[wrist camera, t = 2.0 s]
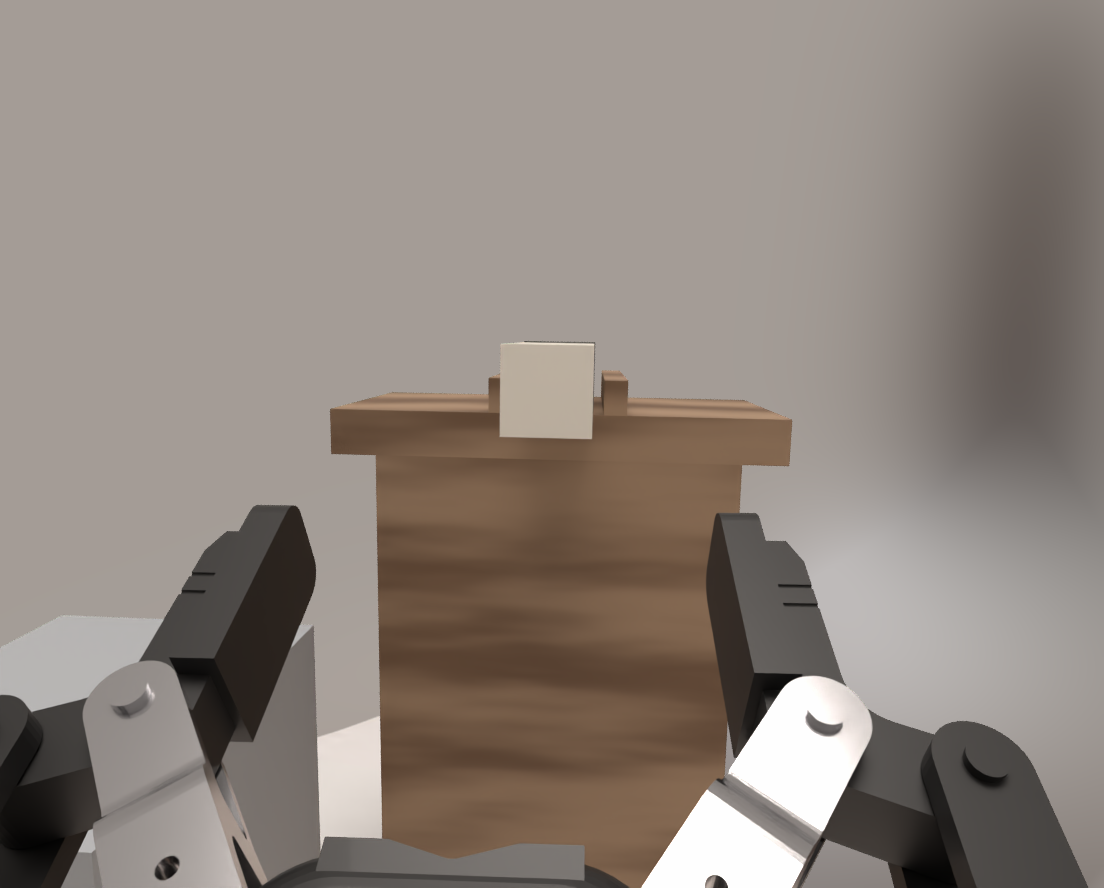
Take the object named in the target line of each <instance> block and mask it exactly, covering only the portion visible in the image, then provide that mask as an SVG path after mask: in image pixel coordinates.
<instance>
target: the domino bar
mask: <svg viewBox="0 0 1104 888" xmlns="http://www.w3.org/2000/svg"><path fill="white" fill-rule="evenodd" d="M594 364H595V342H541V341H540V342H539V341H525V342H524V343H506V344H500V437H525V438H564V439H592V420H593V405H594V366H595V365H594Z"/></svg>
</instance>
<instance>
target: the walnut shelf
mask: <svg viewBox="0 0 1104 888" xmlns="http://www.w3.org/2000/svg"><path fill="white" fill-rule="evenodd" d="M330 421H331V454H354V455H376V495H377V547H378V548H377V550H378V552H377V554H378V605H379V606H378V607H379V608H378V611H379V669H380V729H381V787H382V839H390V840H393V841H396V842H399V843H402V844H405V845H408V846H411V847H414V848H417V849H420V850H423V851H426V852H429V853H432V854H435V855H438V856H441V857H444V858H448V859H455V858H461V857H465V856H469V855H473V854H477V853H482V852H486V851H490V850H494V849H498V848H502V847H507V846H511V845H515V844H519V843H528V844H558V845H585V861H584V864H585V865H588V866H591V867H594V868H597V869H599V870H601V871H603V872H605V873H607V874H609V875H611V876H613V877H615V878H616V879H618V880H619V881H621V882H623V883H624V884H626V885H627V886H628V887H630V888H642V886H643V885H644V883H645V882H646V880H647V879H648V877H649V876H650V874H651V873H652V871H653V870H654V868H655V867H656V865H657V864H658V862H659V861H660V859H661V858H662V856H663V855H664V853H665V852H666V850H667V849H668V847H669V846H670V844H671V843H672V841H673V840H674V838H675V837H676V835H677V834H678V832H679V831H680V829H681V828H682V826H683V825H684V823H685V822H686V820H687V819H688V817H689V816H690V814H691V813H692V811H693V810H694V808H695V807H696V805H697V804H698V802H699V801H700V799H701V798H702V796H703V795H704V793H705V792H706V791H707V789H708V788H709V787H710V785H711V784H712V783H713V782H714V781H715V780H716V779H718V778H720V779H723V778H724V775H725V758H726V740H727V722H728V720H727V714H726V708H725V702H724V697H723V691H722V685H721V679H720V673H719V667H718V662H717V656H716V650H715V644H714V638H713V632H712V627H711V621H710V615H709V609H708V603H707V595H706V571H707V564H708V557H709V551H710V544H711V538H712V532H713V525H714V519H715V516H716V514H717V513H739V510H740V509H739V508H740V491H741V474H742V465H763V466H765V465H766V466H789V462H790V446H791V431H792V420H791V419H789V418H786V417H784V416H781V415H779V414H776V413H774V412H772V411H769V410H766V409H764V408H762V407H759V406H757V405H754V404H752V403H749V402H747V401H744V400H711V399H710V400H709V399H666V398H665V399H664V398H628V380H627V379H626V378H625V377H624V375H623V374H622V373H621V372H620V371H602V382H601V397H594V405H593V420H592V439H564V438H525V437H500V374H498V375H496V376H493V377H490V378H489V395H487V394H486V395H485V394H442V393H396V392H395V393H394V392H392V393H388V394H385V395H381V396H377V397H373V398H369V399H366V400H362V401H358V402H354V403H351V404H347V405H343V406H339V407H336V408H332V409H330Z"/></svg>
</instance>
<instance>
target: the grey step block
mask: <svg viewBox="0 0 1104 888" xmlns="http://www.w3.org/2000/svg"><path fill="white" fill-rule="evenodd" d="M163 620H164V619H146V618H145V619H144V618H120V617H95V616H70V615H62V616H60V617H58V618H56V619H54V620H52V621H50V622H48V623H46V624H44V625H43V626H40V627H39V628H37V629H35V630H33V631H31V632H29V633H27V634H25V635H23V636H22V637H19V638H17V639H16V640H14V641H12V642H10V643H8V644H6V645H4V646H2V647H0V695H12V696H16V697H18V698H20V699H21V700H22V701H23V702H24V703H25V704H26V705H27V707H28V708H29V709H30V711H31V712H33V711H37V710H41V709H45V708H49V707H53V706H57V705H61V704H65V703H69V702H73V701H77V700H81V699H84V698H87V697H89V695H90V693H91V692H92V691H93V690H94V688H95V687H96V686H97V685H98V684H99V683H100V682H101V681H102V680H104V679H105V678H106V677H107V676H109V675H110V674H112V673H113V672H115V671H117V670H119V669H121V668H122V667H125V666H127V665H130V664H133V663H137V662H139V660H140V659H141V657H142V655H143V654H144V652H145V650H146V649H147V647H148V645H149V644H150V642H151V640H152V639H153V637H154V635H155V633H156V632H157V630H158V628H159V627H160V625H161V623H162V622H163ZM315 694H316V693H315V659H314V626H313V625H300V626H299V629H298V631H297V634H296V636H295V638H294V641H293V643H292V646H291V648H290V651H289V653H288V656H287V658H286V661H285V663H284V666H283V668H282V671H281V673H280V676H279V678H278V681H277V683H276V686H275V688H274V691H273V693H272V696H271V698H270V701H269V703H268V706H267V708H266V711H265V713H264V716H263V718H262V721H261V723H260V726H259V728H258V731H257V733H256V736H255V738H254V741H253V742H229V745H228V747H227V749H226V752H225V754H224V756H223V759H222V762H223V764H224V766H225V769H226V771H227V774H228V777H229V780H230V783H231V786H232V788H233V791H234V794H235V797H236V800H237V802H238V805H239V808H240V811H241V814H242V817H243V819H244V822H245V825H246V828H247V831H248V834H249V836H250V839H251V842H252V845H253V848H254V850H255V853H256V855H257V858H258V860H259V862H260V865H261V867H262V869H263V871H264V873H265V876H266V878H267V881H269V880H271V879H272V878H274V877H275V876H277V875H279V874H280V873H282V872H284V871H286V870H288V869H290V868H292V867H294V866H296V865H298V864H301V863H304V862H306V861H309V860H312V859H315V858H319V856H320V822H319V789H318V757H317V724H316V695H315ZM61 888H103V887H102V881H101V876H100V870H99V865H98V860H97V854H96V849H95V843H94V837H93V829H91V830H88V832H87V834H86V837H85V839H84V841H83V843H82V845H81V847H80V849H79V851H78V853H77V855H76V857H75V859H74V862H73V864H72V866H71V868H70V870H69V872H68V874H67V876H66V878H65V880H64V882H63V884H62V886H61Z"/></svg>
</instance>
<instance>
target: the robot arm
mask: <svg viewBox="0 0 1104 888" xmlns="http://www.w3.org/2000/svg"><path fill="white" fill-rule="evenodd" d="M315 580H316V565H315V560H314V556H313V553H312V549H311V546H310V543H309V539H308V536H307V533H306V529H305V526H304V523H303V519H302V516H301V513H300V511H299V509H298V507H296V506H287V505H284V506H283V505H282V506H281V505H256V506H254V507H253V508H252V510H251V511H250V512H249V514H248V516H247V518H246V519H245V521H244V523H243V525H242V527H241V528H240V530H239V532H238V531H237V532H236V531H234V532H233V531H227V532H226V533H224V534H223V535H222V536H221V537H220V538H219V539H217V540H216V541H215V542H214V543H213V544H212V545H211V546H210V547H208V548H207V549H206V550H205V551H204V553H203V554H202V556H201V558H200V559H199V561H198V563H197V565H196V566H195V568H194V570H193V571H192V576H190V577H189V578H188V580H187V581H186V583H185V585H184V587H183V588H182V593H181V594H179V595H178V596H177V598H176V600H175V602H174V603H173V605H172V607H171V608H170V610H169V612H168V613H167V615H166V617H165V618H164V620H163V622H162V623H161V625H160V627H159V628H158V630H157V632H156V633H155V635H154V637H153V639H152V640H151V642H150V644H149V645H148V647H147V649H146V650H145V652H144V654H143V655H142V657H141V659H140V660H139V662H137V663H133V664H130V665H127V666H125V667H122V668H121V669H119V670H117V671H115V672H113V673H112V674H110V675H109V676H107V677H106V678H105V679H104V680H102V681H101V682H100V683H99V684H98V685H97V686H96V687H95V688H94V690H93V691H92V692H91V693H90V695H89V697H87V698H84V699H81V700H77V701H73V702H69V703H65V704H61V705H57V706H53V707H49V708H45V709H41V710H37V711H33V712H31V711H30V709H29V708H28V707H27V705H26V704H25V703H24V702H23V701H22V700H21V699H20V698H18V697H16V696H12V695H0V888H61V886H62V884H63V882H64V880H65V878H66V876H67V874H68V872H69V870H70V868H71V866H72V864H73V862H74V859H75V857H76V855H77V853H78V851H79V849H80V847H81V845H82V843H83V841H84V839H85V837H86V834H87V832H88V830H91V829H93V837H94V843H95V849H96V854H97V860H98V865H99V870H100V876H101V881H102V887H103V888H630V887H628V886H627V885H626V884H624V883H623V882H621V881H619V880H618V879H616V878H615V877H613V876H611V875H609V874H607V873H605V872H603V871H601V870H599V869H597V868H594V867H591V866H588V865H585V864H584V861H585V845H558V844H528V843H519V844H515V845H511V846H507V847H502V848H498V849H494V850H490V851H486V852H482V853H477V854H473V855H469V856H465V857H461V858H455V859H448V858H444V857H441V856H438V855H435V854H432V853H429V852H426V851H423V850H420V849H417V848H414V847H411V846H408V845H405V844H402V843H399V842H396V841H393V840H390V839H377V838H347V837H325V839H324V842H323V846H322V849H321V853H320V856H319V858H315V859H312V860H309V861H306V862H304V863H301V864H298V865H296V866H294V867H292V868H290V869H288V870H286V871H284V872H282V873H280V874H279V875H277V876H275V877H274V878H272V879H271V880H269V881H267V878H266V876H265V873H264V871H263V869H262V867H261V865H260V862H259V860H258V858H257V855H256V853H255V850H254V848H253V845H252V842H251V839H250V836H249V834H248V831H247V828H246V825H245V822H244V819H243V817H242V814H241V811H240V808H239V805H238V802H237V800H236V797H235V794H234V791H233V788H232V786H231V783H230V780H229V777H228V774H227V771H226V769H225V766H224V764H223V762H222V759H223V756H224V754H225V752H226V749H227V747H228V745H229V742H253V741H254V738H255V736H256V733H257V731H258V728H259V726H260V723H261V721H262V718H263V716H264V713H265V711H266V708H267V706H268V703H269V701H270V698H271V696H272V693H273V691H274V688H275V686H276V683H277V681H278V678H279V676H280V673H281V671H282V668H283V666H284V663H285V661H286V658H287V656H288V653H289V651H290V648H291V646H292V643H293V641H294V638H295V636H296V634H297V631H298V629H299V626H300V623H301V621H302V618H303V616H304V613H305V611H306V609H307V606H308V603H309V601H310V598H311V596H312V593H313V590H314V586H315ZM706 595H707V603H708V609H709V615H710V621H711V627H712V632H713V638H714V644H715V650H716V656H717V662H718V667H719V673H720V679H721V685H722V691H723V697H724V702H725V708H726V714H727V720H728V725H729V731H730V737H731V742H732V749H733V755H734V758H737V759H736V761H735V762H734V764H733V766H732V767H731V769H730V770H729V772H728V773H727V774H726V776H725V777H724V778H723V779H720V778H718V779H716V780H715V781H714V782H713V783H712V784H711V785H710V787H709V788H708V789H707V791H706V792H705V793H704V795H703V796H702V798H701V799H700V801H699V802H698V804H697V805H696V807H695V808H694V810H693V811H692V813H691V814H690V816H689V817H688V819H687V820H686V822H685V823H684V825H683V826H682V828H681V829H680V831H679V832H678V834H677V835H676V837H675V838H674V840H673V841H672V843H671V844H670V846H669V847H668V849H667V850H666V852H665V853H664V855H663V856H662V858H661V859H660V861H659V862H658V864H657V865H656V867H655V868H654V870H653V871H652V873H651V874H650V876H649V877H648V879H647V880H646V882H645V883H644V885H643V886H642V888H802V886H803V884H804V882H805V880H806V878H807V876H808V874H809V872H810V870H811V868H812V866H813V864H814V862H815V860H816V858H817V857H818V854H819V853H820V850H821V848H822V847H823V845H824V842H825V841H826V839H827V840H830V841H832V842H835V843H838V844H840V845H843V846H846V847H849V848H851V849H854V850H857V851H859V852H862V853H865V854H868V855H871V856H873V857H876V858H879V859H881V860H884V861H887V862H888V865H889V869H890V873H891V877H892V880H893V884H894V888H1088V886H1087V884H1086V881H1085V879H1084V877H1083V875H1082V873H1081V870H1080V868H1079V866H1078V864H1077V861H1076V859H1075V857H1074V855H1073V853H1072V850H1071V848H1070V846H1069V844H1068V842H1067V839H1066V837H1065V835H1064V833H1063V831H1062V828H1061V826H1060V824H1059V822H1058V819H1057V817H1056V815H1055V813H1054V811H1053V808H1052V806H1051V804H1050V802H1049V800H1048V798H1047V795H1046V793H1045V791H1044V789H1043V786H1042V784H1041V782H1040V780H1039V777H1038V775H1037V773H1036V771H1035V769H1034V767H1033V765H1032V763H1031V762H1030V760H1029V759H1028V757H1027V756H1026V754H1025V753H1024V752H1023V751H1022V750H1021V749H1020V748H1019V747H1018V746H1017V745H1016V744H1015V743H1014V742H1013V741H1012V740H1010V739H1009V738H1008V737H1006V736H1005V735H1003V734H1002V733H1000V732H998V731H996V730H995V729H993V728H990V727H988V726H985V725H982V724H979V723H975V722H968V721H957V722H951V723H949V724H946V725H944V726H943V727H941V728H940V729H939V730H938V731H937V732H936V733H935V735H934V734H930V733H927V732H924V731H921V730H918V729H914V728H911V727H908V726H905V725H901V724H898V723H895V722H892V721H890V720H887V719H885V718H883V717H880V716H878V715H876V714H875V713H873V712H871V711H870V710H869V709H867V707H866V706H865V704H864V703H863V701H862V700H861V699H860V698H859V697H858V696H857V695H856V694H855V693H854V692H853V691H852V690H851V689H849V688H848V687H847V686H846V685H845V683H844V681H843V678H842V676H841V673H840V670H839V667H838V664H837V661H836V658H835V655H834V652H833V649H832V646H831V643H830V640H829V637H828V633H827V631H826V627H825V624H824V621H823V619H822V615H821V612H820V609H819V608H818V606H817V605H818V603H817V600H816V597H815V594H814V591H813V589H812V588H811V582H810V579H809V576H808V573H807V570H806V566H805V563H804V561H803V560H802V559H801V558H800V557H799V556H798V554H797V553H796V552H795V551H794V550H793V549H792V548H791V546H790V545H789V544H788V543H787V542H786V541H766V540H765V537H764V533H763V529H762V526H761V522H760V519H759V516H758V515H757V514H756V513H717V514H716V516H715V519H714V525H713V532H712V538H711V544H710V551H709V557H708V564H707V571H706Z"/></svg>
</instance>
